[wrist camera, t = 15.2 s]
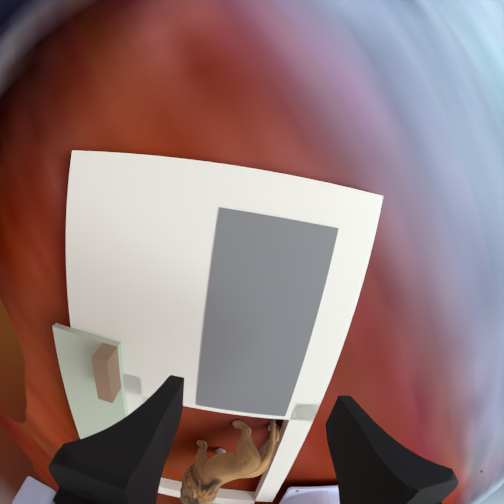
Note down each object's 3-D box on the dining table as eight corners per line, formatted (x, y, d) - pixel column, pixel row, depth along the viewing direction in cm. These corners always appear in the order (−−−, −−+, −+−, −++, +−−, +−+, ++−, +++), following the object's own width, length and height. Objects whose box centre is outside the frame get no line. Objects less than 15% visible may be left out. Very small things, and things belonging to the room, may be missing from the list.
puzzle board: (374, 194, 18) (384, 196, 17) (268, 498, 27) (268, 508, 25) (83, 151, 17) (71, 150, 16) (111, 469, 26) (107, 478, 25)
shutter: (120, 342, 19) (106, 362, 17) (139, 478, 24) (133, 494, 22) (56, 322, 19) (38, 337, 17) (92, 462, 24) (85, 477, 22)
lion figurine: (212, 467, 25) (205, 522, 18) (178, 450, 24) (164, 506, 17) (293, 416, 23) (303, 482, 16) (256, 394, 22) (257, 464, 15)
